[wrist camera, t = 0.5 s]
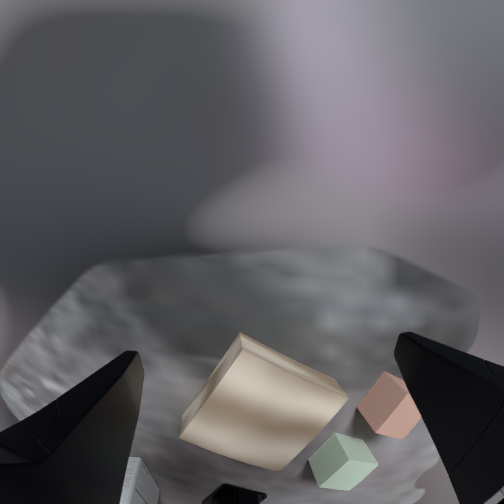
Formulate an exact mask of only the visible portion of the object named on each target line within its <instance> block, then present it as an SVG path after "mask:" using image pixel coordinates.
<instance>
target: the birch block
mask: <svg viewBox="0 0 504 504" xmlns="http://www.w3.org/2000/svg"><path fill="white" fill-rule="evenodd" d="M348 399H349V398H348V397H347V395H346V394H345V392H344V391H343V390H342V388H341V387H340V386H339V384H338V383H337V381H336V380H335V379H333V378H331V377H329V376H327V375H324V374H322V373H320V372H318V371H316V370H314V369H311V368H309V367H307V366H305V365H303V364H301V363H299V362H297V361H295V360H293V359H291V358H289V357H287V356H285V355H283V354H281V353H279V352H277V351H275V350H273V349H271V348H269V347H267V346H265V345H263V344H261V343H259V342H257V341H256V340H254V339H252V338H250V337H248V336H246V335H244V334H242V333H241V332H240V333H239V334H238V336H237V337H236V339H235V340H234V342H233V343H232V345H231V346H230V348H229V349H228V351H227V352H226V353H225V355H224V356H223V358H222V359H221V361H220V362H219V364H218V365H217V367H216V368H215V370H214V371H213V373H212V374H211V375H210V377H209V378H208V380H207V381H206V383H205V384H204V386H203V387H202V388H201V390H200V391H199V393H198V394H197V396H196V397H195V398H194V400H193V401H192V403H191V404H190V405H189V407H188V408H187V410H186V411H185V412H184V414H183V416H182V421H181V427H180V432H179V438H180V439H182V440H185V441H187V442H189V443H192V444H194V445H197V446H199V447H202V448H204V449H207V450H209V451H212V452H215V453H217V454H220V455H223V456H226V457H229V458H232V459H235V460H238V461H241V462H244V463H247V464H251V465H254V466H258V467H261V468H265V469H269V470H273V471H277V472H280V471H281V470H282V469H283V468H284V467H285V466H286V465H287V464H288V463H289V462H290V461H291V460H292V459H294V458H295V457H296V456H297V455H298V454H299V453H300V452H301V451H302V450H303V449H304V448H305V447H306V446H307V445H308V444H309V443H310V442H311V440H312V439H313V438H314V437H315V436H316V435H317V434H318V433H319V432H320V431H321V430H322V429H323V428H324V427H325V425H326V424H327V423H328V422H329V421H330V420H331V419H332V418H333V416H334V415H335V414H336V413H337V412H338V411H339V409H340V408H341V407H342V406H343V405H344V403H345V402H346V401H347V400H348Z"/></svg>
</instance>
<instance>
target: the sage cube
mask: <svg viewBox="0 0 504 504" xmlns="http://www.w3.org/2000/svg"><path fill="white" fill-rule="evenodd" d="M308 461H309V463H310V466H311V469H312V471H313V474H314V476H315V479H316V482H317V484H318V487H321V488H329V489H338V490H349V491H350V490H351V489H352V488H353V487H354V486H356V485H357V484H358V483H359V482H360V481H361V480H363V479H364V478H365V477H366V476H367V475H368V474H369V473H370V472H371V471H372V470H373V469H375V468H376V467H377V466H378V465H379V464H378V463H377V461H376V459H375V458H374V456H373V455H372V453H371V452H370V450H369V449H368V447H367V446H366V444H365V443H364V441H363V440H361V439H357V438H353V437H350V436H346V435H342V434H339V433H335V432H334V433H333V434H332V435H331V436H330V437H329V438H328V440H327V441H326V442H325V443H324V444H323V445H322V446H321V447H320V448H319V449H318V450H317V451H316V452H315V453H314V454H313V455H312V456H311V457H310V458H309V459H308Z"/></svg>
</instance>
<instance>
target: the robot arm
mask: <svg viewBox="0 0 504 504" xmlns="http://www.w3.org/2000/svg"><path fill="white" fill-rule="evenodd" d="M394 357H395V360H396V362H397V365H398V367H399V370H400V372H401V375H402V377H403V380H404V382H405V385H406V387H407V389H408V391H409V393H410V395H411V397H412V399H413V401H414V403H415V405H416V407H417V409H418V411H419V413H420V415H421V417H422V419H423V421H424V423H425V425H426V427H427V429H428V431H429V433H430V435H431V437H432V440H433V442H434V444H435V446H436V448H437V450H438V453H439V455H440V457H441V459H442V462H443V464H444V466H445V468H446V471H447V473H448V474H449V478H450V481H451V483H452V485H453V488H454V490H455V493H456V495H457V498H458V501H459V503H460V504H485V503H486V502H487V501H488V500H490V499H491V498H492V497H493V496H495V495H496V494H497V493H498V492H500V491H501V492H502V494H503V496H504V366H501V365H498V364H495V363H492V362H490V361H487V360H485V361H484V359H481V358H479V357H476V356H473V355H470V354H468V353H465V352H463V351H460V350H457V349H455V348H452V347H449V346H447V345H444V344H441V343H439V342H436V341H434V340H431V339H428V338H426V337H423V336H421V335H418V334H415V333H413V332H404V333H401V334H400V335H399V337H398V340H397V343H396V347H395V350H394ZM143 381H144V369H143V366H142V362H141V358H140V355H139V353H138V352H137V351H125V352H123V353H122V354H120V355H119V356H118V357H116V358H115V359H113V360H112V361H110V362H109V363H108V364H106V365H105V366H103V367H102V368H100V369H99V370H97V371H96V372H95V373H93V374H92V375H90V376H89V377H87V378H86V379H85V380H83V381H82V382H80V383H79V384H77V385H76V386H74V387H73V388H72V389H70V390H69V391H67V392H66V393H64V394H63V395H61V396H60V397H58V398H57V399H56V400H54V401H53V402H51V403H50V404H48V405H47V406H45V407H44V408H42V409H41V410H39V411H37V412H36V413H34V414H32V415H31V416H29V417H27V418H25V419H24V420H22V421H20V422H18V423H16V424H14V425H12V426H11V427H9V428H7V429H5V430H3V431H1V432H0V504H120V499H121V494H122V489H123V483H124V478H125V473H126V469H127V464H128V459H129V455H130V450H131V446H132V441H133V437H134V433H135V429H136V425H137V421H138V416H139V411H140V403H141V395H142V388H143ZM265 498H267V495H266V494H265V493H260V492H256V491H251V490H247V489H243V488H239V487H236V486H232V485H228V484H223V485H221V486H220V487H219V488H218V489H217V490H216V491H214V492H213V493H212V494H211V495H210V496H209V497H207V498H206V499H205V500H204V501H203V502H202V504H259V503H260V502H262V501H263V500H264V499H265ZM497 504H504V498H503V499H502V500H501V501H500V502H499V503H497Z"/></svg>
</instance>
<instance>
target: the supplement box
mask: <svg viewBox="0 0 504 504" xmlns="http://www.w3.org/2000/svg"><path fill="white" fill-rule="evenodd" d="M159 492H160V489H159V488H158V486H157V484H156V483H155V481H154V479H153V478H152V476H151V474H150V472H149V471H148V469H147V467H146V465H145V464H144V462H143V460H142V458H141V457H129V459H128V464H127V469H126V473H125V478H124V483H123V489H122V494H121V499H120V504H157V503H158V498H159Z"/></svg>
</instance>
